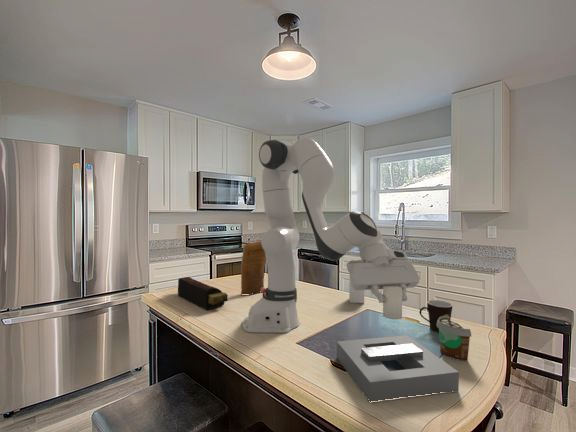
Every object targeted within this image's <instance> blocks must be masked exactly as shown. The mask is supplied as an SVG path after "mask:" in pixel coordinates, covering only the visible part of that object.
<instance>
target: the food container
mask: <svg viewBox="0 0 576 432" xmlns="http://www.w3.org/2000/svg"><path fill="white" fill-rule="evenodd" d="M437 327H438V328H439V332H438V333H439V335H438V336H439V350H440V352H441V354H443V356H446V357H448V358H450V357H451V358H450V359H453V358H454V360H457V359H458V360H459V361H468V360H469V359H468V358H469V350H470V339H471V338H472V331H471V329H470V328H464V327H462V325H460V324H459V323H457V322H454V321H452V320H451V319H450V320H449V319H447V316H442V317H439V319H438V321H437ZM470 337H471V338H470Z"/></svg>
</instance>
